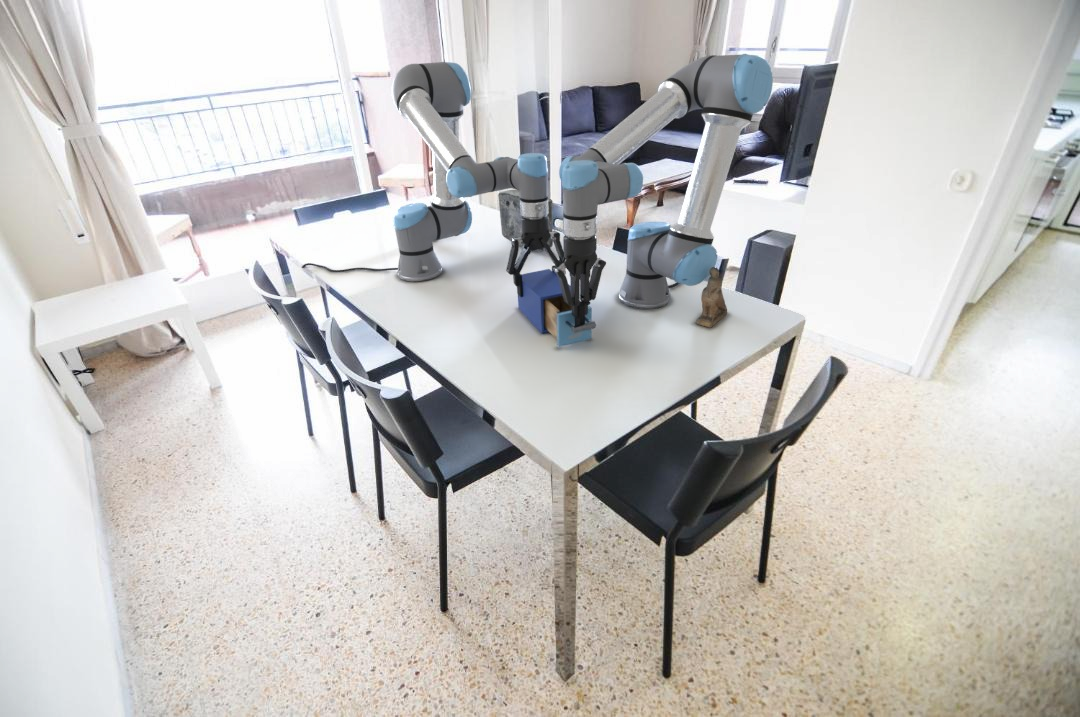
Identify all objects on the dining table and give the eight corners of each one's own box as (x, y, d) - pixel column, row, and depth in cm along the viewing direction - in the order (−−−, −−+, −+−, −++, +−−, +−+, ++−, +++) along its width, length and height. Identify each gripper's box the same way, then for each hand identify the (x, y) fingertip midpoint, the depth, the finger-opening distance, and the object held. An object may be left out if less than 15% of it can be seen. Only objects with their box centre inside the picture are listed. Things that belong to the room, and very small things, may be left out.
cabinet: (576, 325, 139) (576, 290, 133) (541, 333, 135) (540, 297, 130) (550, 301, 152) (549, 268, 147) (518, 308, 149) (516, 275, 143)
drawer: (601, 347, 126) (602, 316, 121) (568, 356, 123) (568, 324, 118) (564, 313, 143) (563, 285, 138) (534, 320, 140) (533, 291, 135)
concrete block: (558, 253, 189) (557, 199, 178) (539, 258, 184) (537, 204, 174) (519, 237, 207) (516, 187, 197) (501, 241, 203) (497, 191, 193)
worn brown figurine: (709, 335, 136) (713, 280, 124) (691, 329, 139) (693, 274, 128) (730, 313, 142) (736, 258, 130) (712, 307, 145) (716, 253, 133)
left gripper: (499, 225, 127) (505, 304, 138) (579, 212, 134) (579, 288, 146) (489, 218, 133) (496, 294, 144) (567, 206, 140) (567, 279, 152)
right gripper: (561, 244, 107) (562, 339, 119) (613, 234, 111) (610, 327, 123) (546, 234, 113) (549, 326, 125) (597, 225, 117) (595, 315, 129)
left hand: (538, 291), depth 145 cm, fingers closed on cabinet, 10 cm apart
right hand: (579, 326), depth 124 cm, fingers closed
